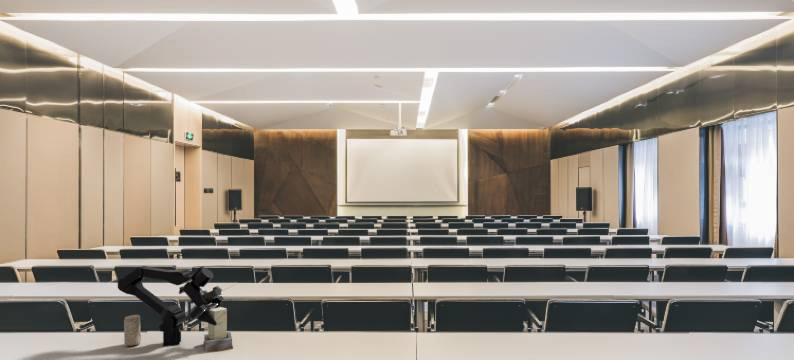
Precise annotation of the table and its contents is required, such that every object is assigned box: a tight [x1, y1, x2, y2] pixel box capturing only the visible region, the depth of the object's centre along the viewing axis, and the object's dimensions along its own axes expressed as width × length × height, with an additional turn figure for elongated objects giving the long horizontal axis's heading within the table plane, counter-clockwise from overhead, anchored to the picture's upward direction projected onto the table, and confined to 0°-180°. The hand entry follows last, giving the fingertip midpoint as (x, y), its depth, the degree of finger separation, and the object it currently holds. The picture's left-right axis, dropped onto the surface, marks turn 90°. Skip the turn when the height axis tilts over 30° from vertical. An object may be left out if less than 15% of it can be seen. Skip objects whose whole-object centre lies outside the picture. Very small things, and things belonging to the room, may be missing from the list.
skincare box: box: [207, 306, 228, 340], centre depth 214 cm, size 6×4×12 cm
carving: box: [123, 314, 142, 347], centre depth 216 cm, size 6×8×12 cm
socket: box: [203, 331, 234, 353], centre depth 214 cm, size 11×11×4 cm
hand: (220, 322), depth 214 cm, fingers closed on skincare box, 7 cm apart
